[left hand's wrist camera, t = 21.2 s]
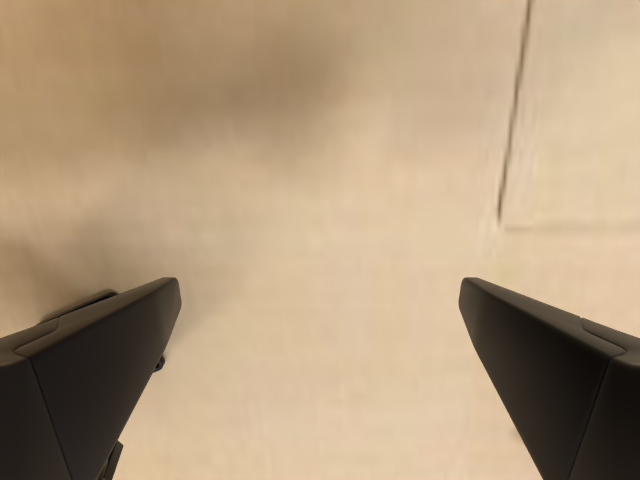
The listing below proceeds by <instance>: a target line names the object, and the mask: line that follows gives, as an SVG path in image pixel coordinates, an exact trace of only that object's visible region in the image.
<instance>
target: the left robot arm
mask: <svg viewBox="0 0 640 480" xmlns="http://www.w3.org/2000/svg"><path fill="white" fill-rule="evenodd" d="M180 309H181V296H180V289H179V283H178V280H177V279H176V278H174V277H164V278H161V279H158V280H155V281H153V282H150V283H147V284H145V285H142V286H139V287H137V288H134V289H132V290H129V291H126V292H124V293H121V294H118V295H117V294H115V293H112V292H110V293H107V294H105V295H102V296H100V297H98V298H95V299H93V300H90V301H88V302H86V303H83V304H81V305H79V306H76V307H74V308H72V309H69V310H67V311H64V312H62V313H60V314H57V315H55V316H53V317H50V318H48V319H46V320H43V321H41V322H40V323H38V324H37V325H36V326H34V327H31V328H28V329H26V330H23V331H20V332H17V333H14V334H11V335H8V336H6V337H3V338H0V480H112V478H113V475H114V472H115V469H116V466H117V463H118V460H119V457H120V454H121V452H122V449H123V445H122V444H121V443H120V442H119V441H118V438H119V436H120V434H121V432H122V431H123V429H124V427H125V425H126V423H127V421H128V419H129V417H130V415H131V413H132V411H133V409H134V408H135V406H136V404H137V402H138V400H139V398H140V396H141V394H142V392H143V390H144V388H145V387H146V385H147V383H148V381H149V379H150V377H151V375H152V373H154V372H156V371H159V370H161V369H162V367H163V365H164V364H165V360H164V358H163V357H162V354H163V352H164V350H165V348H166V346H167V343H168V341H169V338H170V335H171V333H172V330H173V327H174V325H175V322H176V319H177V317H178V314H179V311H180ZM459 309H460V311H461V314H462V317H463V319H464V322H465V325H466V327H467V330H468V333H469V335H470V338H471V341H472V343H473V346H474V348H475V350H476V352H477V354H478V356H479V358H480V360H481V362H482V364H483V365H484V367H485V369H486V371H487V373H488V375H489V377H490V379H491V381H492V383H493V385H494V387H495V388H496V390H497V392H498V394H499V396H500V398H501V400H502V402H503V404H504V406H505V408H506V409H507V411H508V413H509V415H510V417H511V419H512V421H513V423H514V425H515V427H516V429H517V431H518V432H519V434H520V436H521V438H522V440H523V442H524V444H525V446H526V448H527V450H528V452H529V454H530V455H531V457H532V459H533V461H534V463H535V465H536V467H537V469H538V471H539V473H540V475H541V476H542V478H543V480H640V338H637V337H634V336H632V335H629V334H626V333H623V332H620V331H617V330H614V329H612V328H609V327H606V326H604V325H601V324H598V323H595V322H593V321H590V320H587V319H585V318H580V317H579V316H577V315H574V314H572V313H569V312H566V311H564V310H561V309H558V308H556V307H553V306H551V305H548V304H545V303H543V302H540V301H537V300H535V299H532V298H529V297H527V296H524V295H522V294H519V293H516V292H514V291H511V290H508V289H506V288H503V287H501V286H498V285H495V284H493V283H490V282H487V281H485V280H482V279H479V278H472V277H466V278H464V279H463V280H462V283H461V289H460V296H459Z"/></svg>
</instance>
